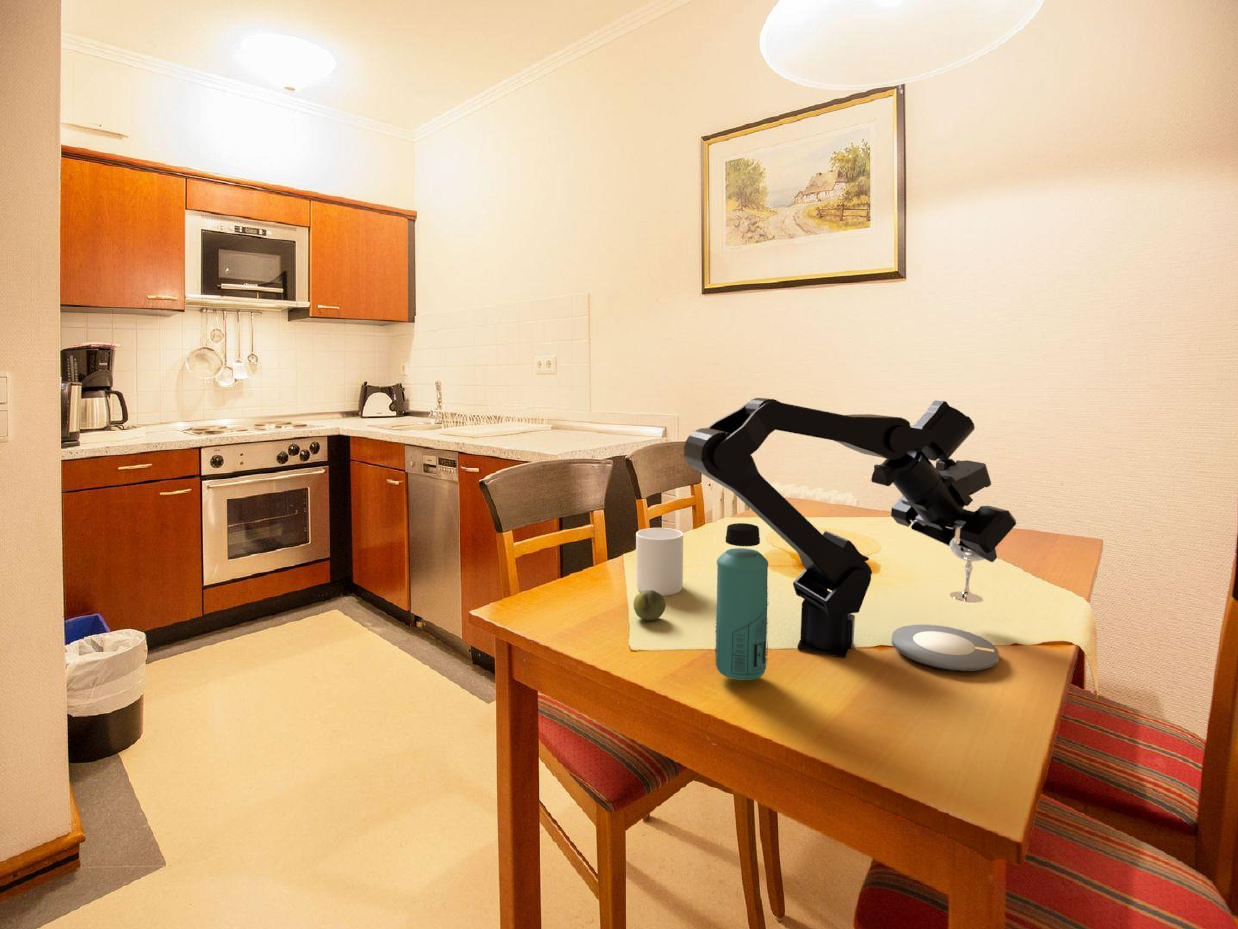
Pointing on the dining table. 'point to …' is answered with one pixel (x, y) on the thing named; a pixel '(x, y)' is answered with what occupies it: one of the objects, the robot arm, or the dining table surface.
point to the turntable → (945, 647)
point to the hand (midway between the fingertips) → (977, 554)
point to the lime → (649, 605)
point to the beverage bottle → (741, 606)
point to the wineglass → (968, 557)
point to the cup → (659, 560)
